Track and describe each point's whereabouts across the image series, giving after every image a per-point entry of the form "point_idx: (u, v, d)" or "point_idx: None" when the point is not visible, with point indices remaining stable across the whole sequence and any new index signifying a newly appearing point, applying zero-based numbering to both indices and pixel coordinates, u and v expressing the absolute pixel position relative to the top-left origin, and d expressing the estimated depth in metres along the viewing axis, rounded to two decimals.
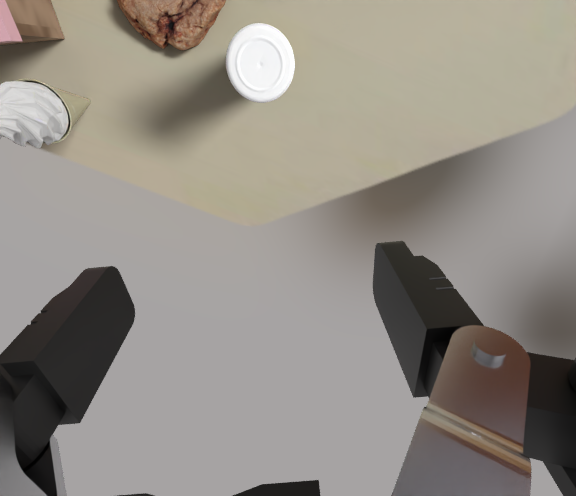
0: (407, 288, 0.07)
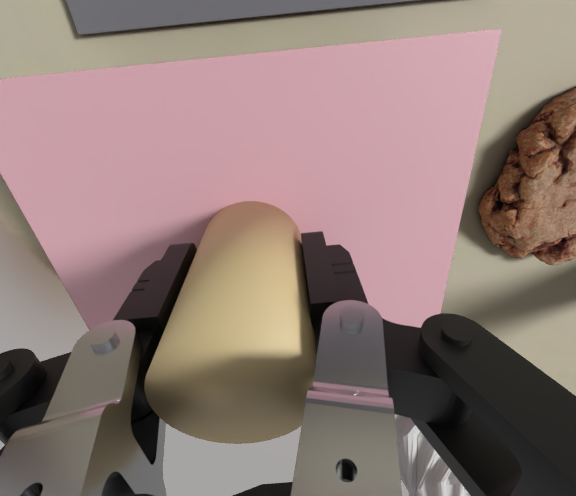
0: (308, 270, 0.08)
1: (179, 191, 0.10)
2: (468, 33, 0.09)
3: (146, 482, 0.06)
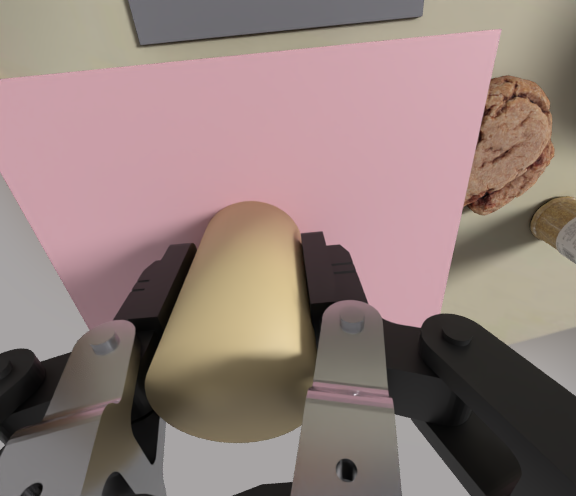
0: (308, 270, 0.08)
1: (179, 191, 0.11)
2: (468, 33, 0.09)
3: (146, 481, 0.06)
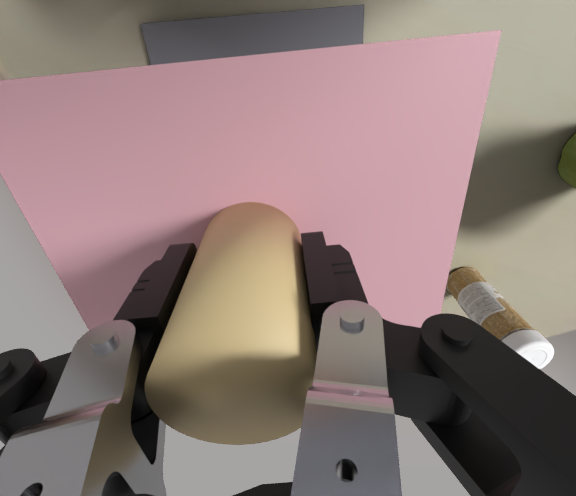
0: (308, 271, 0.08)
1: (179, 192, 0.11)
2: (468, 34, 0.09)
3: (146, 482, 0.06)
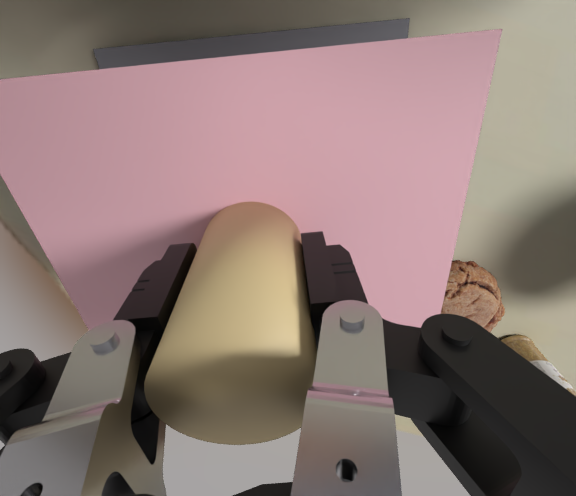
0: (308, 271, 0.08)
1: (179, 192, 0.10)
2: (468, 33, 0.08)
3: (146, 482, 0.06)
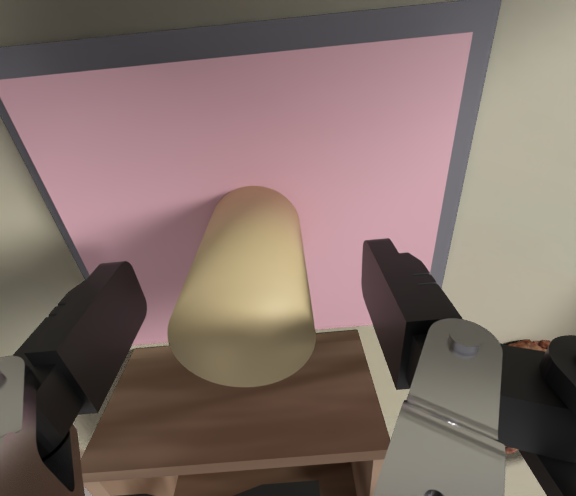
0: (390, 283, 0.07)
1: (190, 176, 0.12)
2: (443, 36, 0.10)
3: None
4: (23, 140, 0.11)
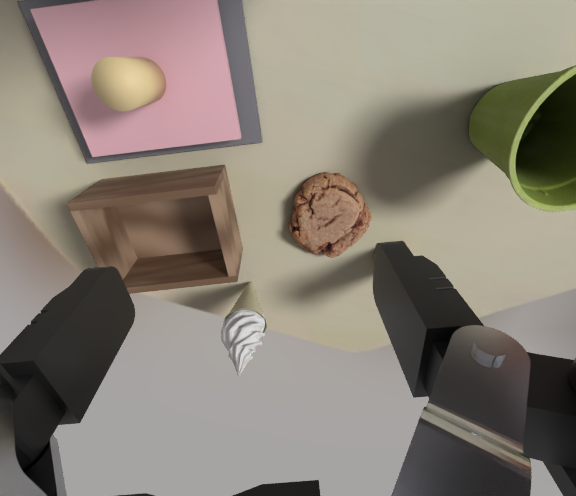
0: (407, 288, 0.07)
1: (112, 53, 0.28)
2: None
3: None
4: (42, 36, 0.27)
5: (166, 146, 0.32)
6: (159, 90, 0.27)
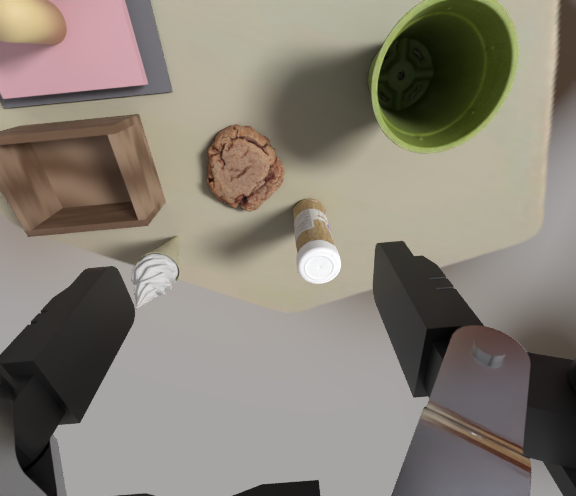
0: (407, 288, 0.07)
1: None
2: None
3: None
4: None
5: (73, 90, 0.33)
6: (54, 29, 0.29)
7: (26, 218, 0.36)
